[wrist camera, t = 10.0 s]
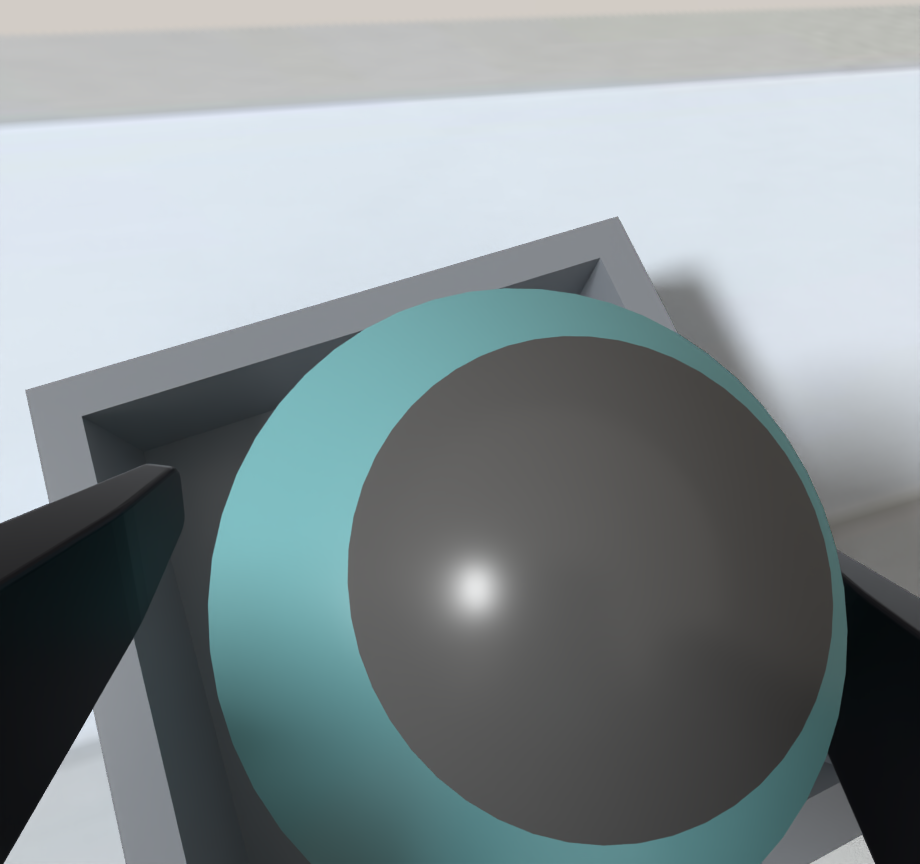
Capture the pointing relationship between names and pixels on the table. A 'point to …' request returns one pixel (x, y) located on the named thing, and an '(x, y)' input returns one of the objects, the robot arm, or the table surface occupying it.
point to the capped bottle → (526, 597)
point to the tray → (205, 495)
